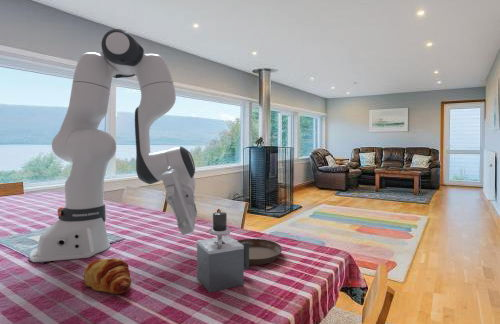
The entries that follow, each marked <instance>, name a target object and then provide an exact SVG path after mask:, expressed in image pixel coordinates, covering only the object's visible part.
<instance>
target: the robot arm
mask: <svg viewBox="0 0 500 324" xmlns="http://www.w3.org/2000/svg"><path fill="white" fill-rule="evenodd" d="M100 45H101V52H98V53H97V52H93V51H92V52H85V53H83V54H81V56H80V57H79V59H78V61H77V63H76V67H75V69H74V74H73V77H72V78H73V79H72V84H71V91H70V98H69V104H68V108H67V111H66V113H65V117H64V118H63V121H62V124H61V126H60V129H59V130H58V132H57V134H56V135H55V136H54V137H53V139H52V141H51V149H52V152H53V154H54V155H55V156H56V157H58V158H59V159H61V160H63V161H65V162H68V163H72V165H71V169H70V173H69V176H68V178H67V180H66V181H65V182H64V194H65V195H64V196H65V197H64V198H65V202H64V203H65V207H64V206H60V207H58V208H57V216H58V217H57V218H58V220H57V221H55V222H54V223H53V224H52V225H50V226H49V227H48V228H47V229H45V230H44V231H43V232H42V233H41V234H40V236H39V239H38V242H37V246H36V247H34V248H33V249H32V250H31V251H30V252H29V261H30V262H32V263H43V262H51V261H53V262H55V261H65V260H67V261H68V260H76V259H77V260H78V259H87V258H91V257H92V256H94V255H96V254H99V253H101V252H104V251H106V250H108V249H109V248H110V247H111V244H110V240H109V236H108V234H107V227H106V226H107V225H106V221H107V220H106V219H107V208H106V204H105V203H104V202H105V201H104V200H105V199H104V197H105V195H104V194H105V193H104V189H105V187H104V184H105V175H106V172H107V168H108V166H109V163H110V161H111V159H113V158H114V156H115V154H116V151H117V143H116V140H115V138H114V137H113V136H112V134H110V133H109V132H107V131H104V130H100V129H98V127H99V126H100V124H101V122H102V120H103V119H104V118H105V117H106V116H107V113H108V109H109V108H108V107H109V100H110V94H111V93H110V92H111V85H112V81H113V78H114V79H120V78H121V79H122V78H133V77H136V79H137V81H138V85H139V89H140V101H139V105H138V106H137V107H136V108H135V110H134V136H135V149H136V150H135V151H136V154H135V155H136V157H135V158H136V161H135V171H136V176H137V177H138V179H139V180H140V181H141V182H143V183H146V184H148V185H152V184H157V183H159V182H161V181H162V183H163V186H164V189H165V200H166V203H168V206H170V208H171V210H172V211H173V214H174V217H175V219H176V222H177V228H178V230H180V234H181V235H184V236H185V235H189V234H191V233H193V232H194V231H195V225H196V218H197V217H198V212H197V211H198V210H197V207H196V202H195V200H196V196H195V190H196V180H195V173H196V166H195V162H194V158H193V156H192V153H191V152H190V151H189V150H188V149H186V148H185V147H183V146H181V145H180V146H176V147H172V148H168V149H164V150H161V151H157V152H156V151H155V152H151V144H150V143H151V140H150V129H151V126H152V125H153V123H155V121H157V120H158V119H160V118H162V116H164V115H166V114H167V113H168V112H170V110H171V109H173V107H174V105H175V103H176V100H177V98H176V97H177V96H176V90H175V86H174V85H175V84H174V81H173V78H172V75H171V72H170V69H169V66H168V63H166V60H165V59H164V57H163V56H161V55H160V54H156V53H145V52H144V51H145V50H144V47H143V46H142V45H141V44H140V43H139V41H137V40H136V39H135V38H134V36H132V35H131V34H130V33H129V32H127V31H125V30H123V29H120V28H114V29H111V30H108V31H107V32H106V33H105V34H104V35H103V37H102V39H101V44H100Z"/></svg>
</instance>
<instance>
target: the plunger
mask: <svg viewBox="0 0 500 324" xmlns="http://www.w3.org/2000/svg"><path fill="white" fill-rule="evenodd" d="M227 221H228V218H227V212H224V211H219V212H218V211H217V212H213V213H212V227H211V228H209V231H208V232H209V234H210V235H211V236H216V238H217V245H220V244H222V237H223V236H228V235H229V234H231V228H230V227H227Z"/></svg>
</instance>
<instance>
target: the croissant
mask: <svg viewBox="0 0 500 324" xmlns="http://www.w3.org/2000/svg"><path fill="white" fill-rule="evenodd" d="M129 269H130V267H129V263H127V262H126V261H125V260H124V259H122V258H114V257H113V258H100V259H99V258H98V259H95V260H92V261H90V262H89V263H88V264H87V265H86V268H84V286H86V287H90V288H91V289H92V290H94V291H97V292H103V293H104V292H105V293H109V294H114V295H115V294H116V295H119V294H124V293H126V292H128V291H129V290H130V288H131V284H132V278H131V271H130V270H129Z"/></svg>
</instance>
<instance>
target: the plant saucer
mask: <svg viewBox="0 0 500 324" xmlns="http://www.w3.org/2000/svg"><path fill="white" fill-rule="evenodd" d="M236 241H238V242H239V243H242V242H248V243H249V266H259V265H260V266H261V265H267V264H270V263H272V262H274V261H275V260H277V259H278V258H279V256H280V255H281V253H282V252H283V247H282V245H281V244H280V243H277V242H276V241H273V240H268V239H263V238H242V239H237V240H236Z"/></svg>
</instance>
